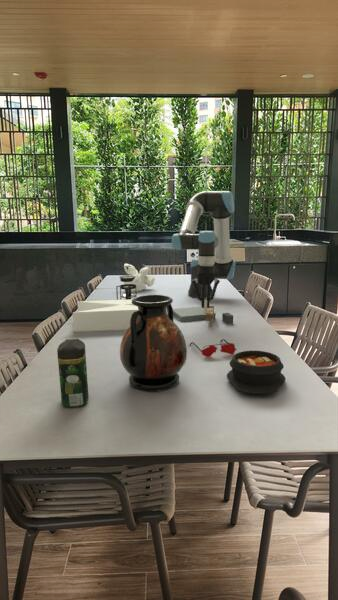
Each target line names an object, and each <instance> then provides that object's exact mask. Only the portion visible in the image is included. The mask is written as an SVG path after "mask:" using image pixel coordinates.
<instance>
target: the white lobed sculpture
mask: <svg viewBox="0 0 338 600" xmlns="http://www.w3.org/2000/svg"><path fill="white" fill-rule="evenodd" d="M126 265H129V266H131V267H128V275H131V276H136V278H135V279H134V280H133V281H132V282H123V284H135V285H136V289H131V293H137V292H142V291H144V290H145V288H146V287H148V288H149V287H152V286H153V285H154V284H155V280H156V279H155V276H151V275H149V272H150V266H148V267H142V268H140V270H139V272H138V270H137V269H136V267H135V266H133V264H129V263H124V265H123V266H126ZM123 268H124V271H125V273H126V274H127V269H126V267H123ZM126 287H128V286H126ZM131 287H132V286H131Z"/></svg>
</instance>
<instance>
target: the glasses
mask: <svg viewBox="0 0 338 600" xmlns="http://www.w3.org/2000/svg"><path fill="white" fill-rule="evenodd" d="M222 342H225V343H222ZM188 345H189V346H191V345H194V346H195V347H196V348H197V349H198V350H199V351H200V352H201V355H202V356H205V357H206V358H210V357H212V355H213V354H214V353H216V352H217V350H218V347H216V346H220V349H219V350H220V353H221V352H222V353H225V354H230V355H235V354H234V353H235V352H236V350H237V348H236V346H235V343H232V342H230V343H229V342H228V341H227V340H226V339H224V338H223V339H220V343H219V344H217V343H216V345H215V344H210V345H205V346H203V348H202V349H200V348H199V346H198V345H197V344H196V343H195V342H193V341H192V342H190V344H188Z"/></svg>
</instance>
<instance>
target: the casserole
mask: <svg viewBox="0 0 338 600" xmlns="http://www.w3.org/2000/svg"><path fill="white" fill-rule="evenodd" d="M229 366H230V368H231V370H229V371H228V372H227V374H226V379H227V380H228V381H229V382H230V383H232V384H233V385H234V386H235V388H236V389H237V390H239V391H240V392H243V393H248V394H253V395H254V394H259V395H265V394H267V395H268V394H274V393H276V392H278V390H279V389H280V387H281V386H282V385H284V383H285V382H286V381H287V380H286V379H287V378H286V377H285V375H284V374H283V373H282V372H281V371H282V370H283V369H284V364H283V362H282V360H281V358H280V357H279V356H278V355H276V354H274V353H272V352H268V351H264V350H263V351H262V350H244V351H243V350H242V351H238V352H237V353H235V354H233V356H232V359H231V360H230V361H229Z"/></svg>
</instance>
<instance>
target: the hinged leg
mask: <svg viewBox="0 0 338 600" xmlns="http://www.w3.org/2000/svg"><path fill="white" fill-rule="evenodd" d="M214 313H215V305H209V308H207V314H206V319H205V320H206V322H212V323H213V322H214V318H213V315H214Z"/></svg>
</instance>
